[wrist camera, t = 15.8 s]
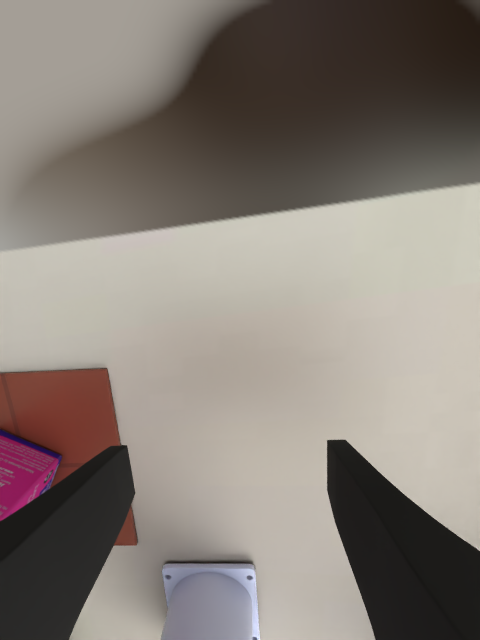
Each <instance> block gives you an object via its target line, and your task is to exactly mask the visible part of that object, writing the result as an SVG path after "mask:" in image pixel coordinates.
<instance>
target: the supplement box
mask: <svg viewBox="0 0 480 640" xmlns="http://www.w3.org/2000/svg"><path fill="white" fill-rule="evenodd" d="M61 459H62V456H61V455H59V454H57V453H54V452H52V451H50V450H47V449H45V448H43V447H40V446H38V445H36V444H33V443H31V442H29V441H26V440H24V439H22V438H19V437H17V436H15V435H13V434H10V433H8V432H6V431H4V430H1V429H0V521H1V520H3V519H5V518H6V517H8V516H9V515H11V514H13V513H14V512H16V511H17V510H19V509H20V508H22V507H23V506H25V505H26V504H28V503H29V502H31V501H32V500H34V499H35V498H37V497H38V496H40V495H41V494H43V493H44V492H46V491H47V490H48V489H50V487H51V484H52V481H53V479H54V476H55V473H56V471H57V468H58V466H59V464H60V461H61Z"/></svg>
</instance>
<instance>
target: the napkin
mask: <svg viewBox="0 0 480 640" xmlns="http://www.w3.org/2000/svg"><path fill="white" fill-rule="evenodd" d="M0 429H1V430H4V431H6V432H8V433H10V434H13V435H15V436H17V437H19V438H22V439H24V440H26V441H29V442H31V443H33V444H36V445H38V446H40V447H43V448H45V449H47V450H50V451H52V452H54V453H57V454H59V455H61V456H62V459H61V461H60V464H59V466H58V468H57V471H56V473H55V476H54V479H53V481H52V484H51V487H53V486H54V485H56V484H57V483H59V482H60V481H61V480H63V479H64V478H66V477H67V476H68V475H70V474H71V473H73V472H74V471H75V470H77V469H78V468H79V467H81V466H82V465H84V464H85V463H86V462H88V461H89V460H91V459H92V458H93V457H95V456H96V455H98V454H99V453H101V452H102V451H104V450H105V449H107V448H108V447H110V446H121V445H120V439H119V433H118V428H117V422H116V416H115V411H114V405H113V399H112V394H111V388H110V382H109V377H108V371H107V368H104V369H82V370H59V371H37V372H14V373H0ZM51 487H50V488H51ZM137 543H138V541H137V536H136V530H135V524H134V519H133V513H132V507H131V506H130V509H129V512H128V515H127V517H126V520H125V523H124V525H123V527H122V529H121V531H120V533H119V535H118V537H117V539H116V541H115V544H114V546H115V545H137Z"/></svg>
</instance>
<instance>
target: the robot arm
mask: <svg viewBox="0 0 480 640" xmlns="http://www.w3.org/2000/svg"><path fill="white" fill-rule="evenodd" d="M327 491H328V495H329V499H330V503H331V508H332V511H333V515H334V519H335V523H336V526H337V529H338V532H339V535H340V537H341V540H342V543H343V546H344V549H345V551H346V554H347V557H348V560H349V563H350V565H351V568H352V571H353V574H354V577H355V579H356V582H357V585H358V588H359V590H360V593H361V596H362V599H363V602H364V604H365V607H366V610H367V613H368V616H369V619H370V623H371V626H372V629H373V632H374V636H375V639H376V640H480V551H479V550H477V549H476V548H474V547H473V546H471V545H470V544H468V543H467V542H466V541H464V540H463V539H461V538H460V537H459V536H457V535H456V534H454V533H453V532H452V531H450V530H449V529H448V528H446V527H445V526H443V525H442V524H441V523H439V522H438V521H437V520H435V519H434V518H433V517H431V516H430V515H429V514H428V513H426V512H425V511H424V510H423V509H421V508H420V507H419V506H418V505H416V504H415V503H414V502H413V501H412V500H410V499H409V498H408V497H407V496H405V495H404V494H403V493H402V492H401V491H400V490H398V489H397V488H396V487H395V486H394V485H393V484H392V483H390V482H389V481H388V480H387V479H386V478H385V477H384V476H383V475H382V474H381V473H379V472H378V471H377V470H376V469H375V468H374V467H373V466H372V465H371V464H370V463H369V462H368V461H367V460H366V459H365V458H364V457H363V456H362V455H361V454H360V453H358V452H357V451H356V450H355V449H354V448H353V447H352V446H351V445H350V444H349V443H348V442H347V441H346V440H327ZM134 495H135V489H134V483H133V477H132V471H131V466H130V460H129V454H128V448H127V445H122V446H110V447H108V448H107V449H105V450H104V451H102V452H101V453H99V454H98V455H96V456H95V457H93V458H92V459H91V460H89V461H88V462H86V463H85V464H84V465H82V466H81V467H79V468H78V469H77V470H75V471H74V472H73V473H71V474H70V475H68V476H67V477H66V478H64V479H63V480H61V481H60V482H59V483H57V484H56V485H54V486H53V487H51V488H50V489H48V490H47V491H46V492H44V493H43V494H41V495H40V496H38V497H37V498H35V499H34V500H32V501H31V502H29V503H28V504H26V505H25V506H23V507H22V508H20V509H19V510H17V511H16V512H14V513H13V514H11V515H9V516H8V517H6V518H5V519H3V520H1V521H0V640H69V637H70V635H71V633H72V630H73V628H74V625H75V623H76V621H77V619H78V617H79V614H80V612H81V610H82V608H83V606H84V604H85V602H86V600H87V598H88V596H89V594H90V592H91V590H92V588H93V586H94V584H95V582H96V580H97V578H98V576H99V574H100V572H101V570H102V568H103V566H104V564H105V562H106V560H107V558H108V556H109V554H110V552H111V550H112V548H113V546H114V544H115V541H116V539H117V537H118V535H119V533H120V531H121V529H122V527H123V525H124V523H125V520H126V517H127V515H128V512H129V509H130V506H131V504H132V501H133V498H134ZM162 575H163V581H164V588H165V594H166V600H167V607H168V612H167V616H166V620H165V624H164V628H163V632H162V636H161V640H260V632H259V617H258V603H257V588H256V574H255V567H254V566H253V565H252V564H165V565H164V566H163V569H162Z"/></svg>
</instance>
